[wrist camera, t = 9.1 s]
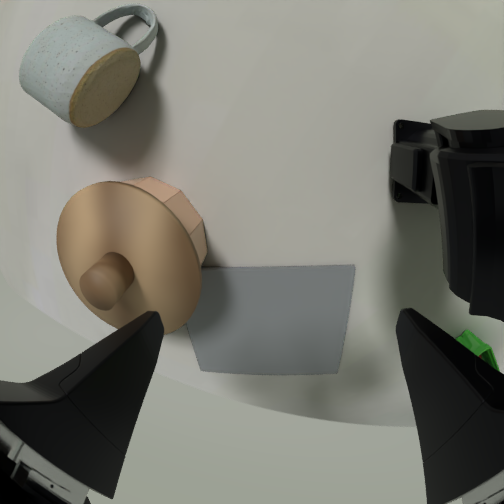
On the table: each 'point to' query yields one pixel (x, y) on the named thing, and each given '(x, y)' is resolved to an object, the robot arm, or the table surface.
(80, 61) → the ceramic mug
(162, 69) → the table surface
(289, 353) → the mat
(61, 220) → the lid
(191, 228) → the bowl
